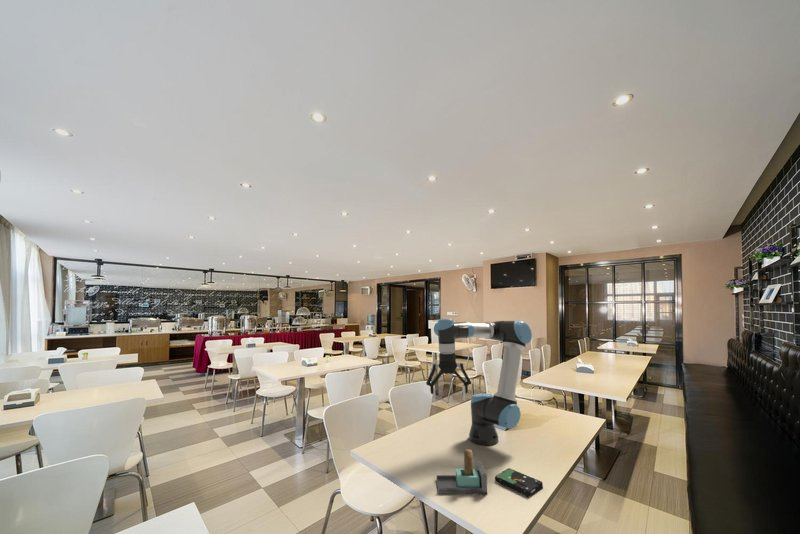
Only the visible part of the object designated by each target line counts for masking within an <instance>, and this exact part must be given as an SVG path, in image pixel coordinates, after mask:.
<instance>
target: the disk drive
mask: <svg viewBox="0 0 800 534" xmlns="http://www.w3.org/2000/svg"><path fill="white" fill-rule="evenodd" d="M494 481H495V483H498V484H499V485H502V486H504V487H506V488H508V489H511V490H512V491H515V492H516V493H519V494H520V495H522V496H525V497H527V498H530V497H532V496H533V495H535V494H537V493H538V492H539V491H541V490H543V488H544V486H543V485H544V484H543V481H541V480H539V479H536V478H534V477H531V476H529V475H526V474H525V473H522V472H519V471H517V470H515V469H512V468H510V467H508V468H506V469H505V470H503V471H501V472H500V473H499V474H495V477H494Z"/></svg>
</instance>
